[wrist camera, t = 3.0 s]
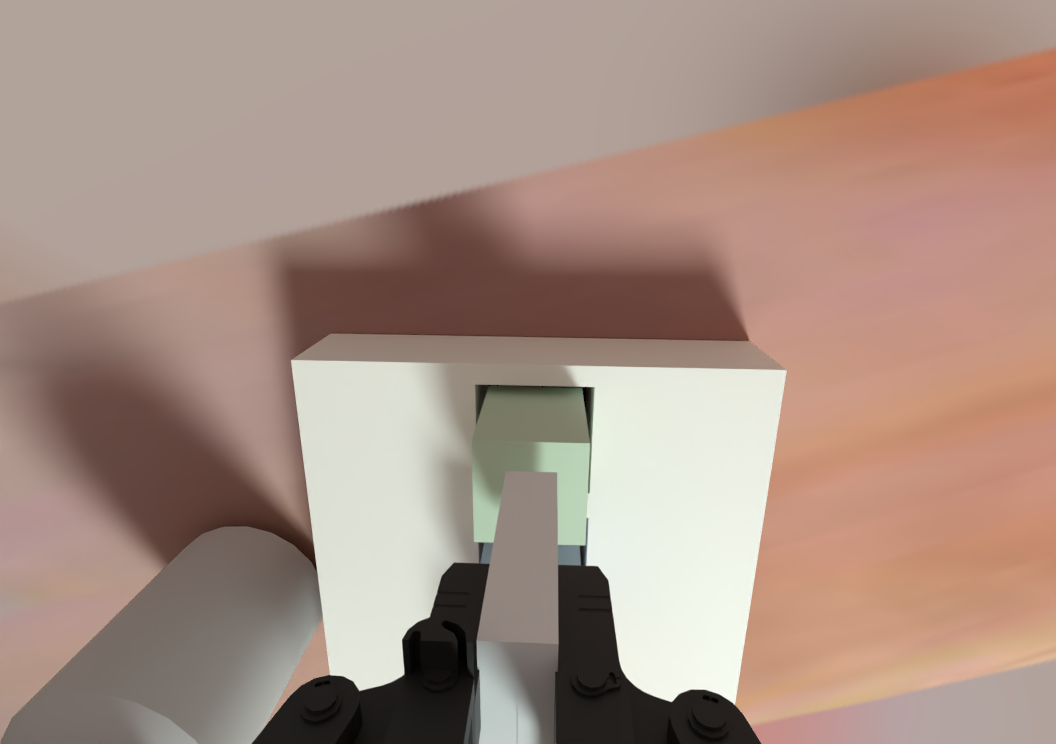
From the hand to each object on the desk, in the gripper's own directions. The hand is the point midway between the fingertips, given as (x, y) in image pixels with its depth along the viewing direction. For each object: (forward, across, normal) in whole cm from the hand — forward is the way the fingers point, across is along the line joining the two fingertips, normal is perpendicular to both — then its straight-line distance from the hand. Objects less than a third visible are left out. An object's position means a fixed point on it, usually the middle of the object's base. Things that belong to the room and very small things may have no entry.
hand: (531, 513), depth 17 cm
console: (+9, 0, -6) cm, 11 cm away
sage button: (+6, 0, 0) cm, 6 cm away
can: (+9, -14, -10) cm, 20 cm away
